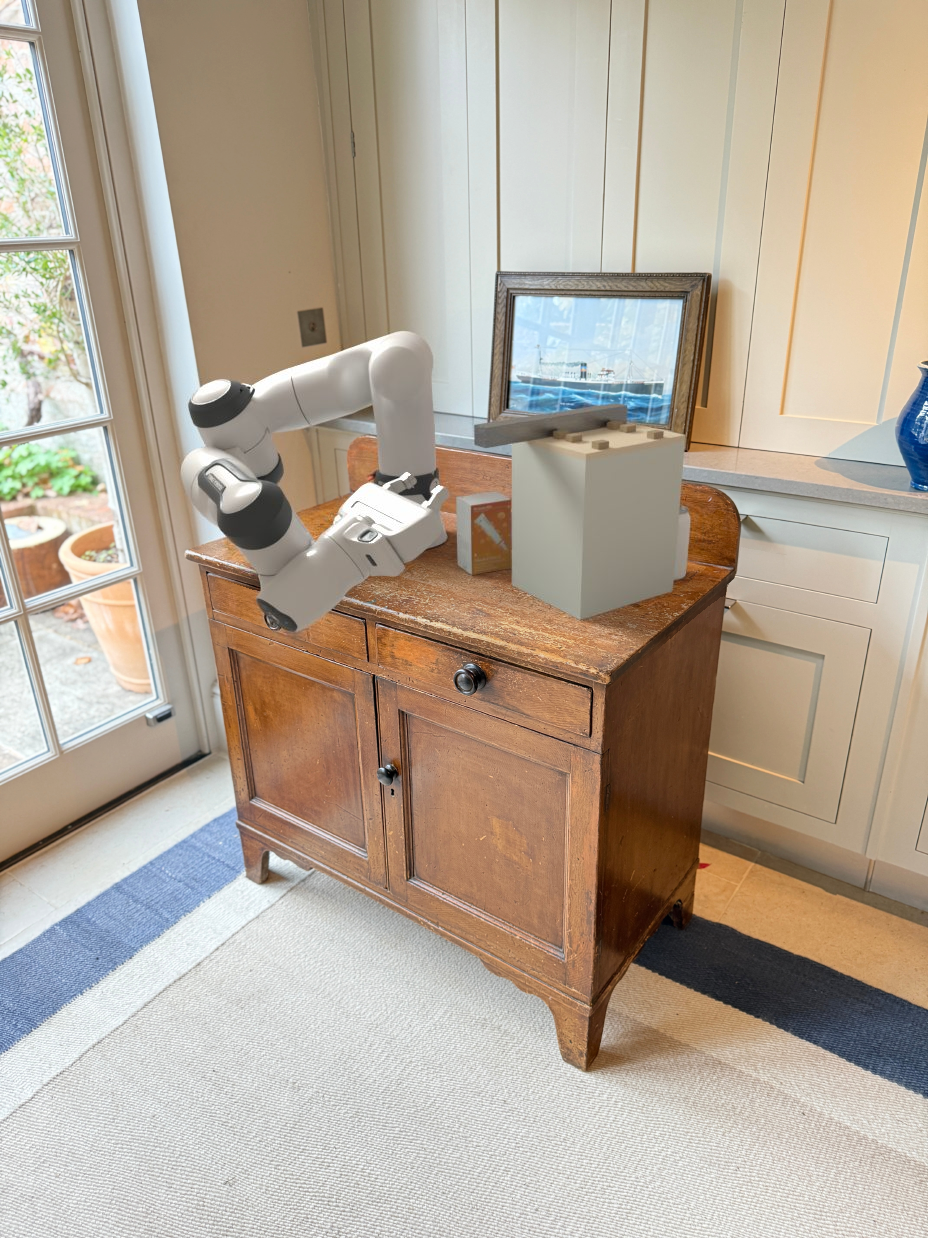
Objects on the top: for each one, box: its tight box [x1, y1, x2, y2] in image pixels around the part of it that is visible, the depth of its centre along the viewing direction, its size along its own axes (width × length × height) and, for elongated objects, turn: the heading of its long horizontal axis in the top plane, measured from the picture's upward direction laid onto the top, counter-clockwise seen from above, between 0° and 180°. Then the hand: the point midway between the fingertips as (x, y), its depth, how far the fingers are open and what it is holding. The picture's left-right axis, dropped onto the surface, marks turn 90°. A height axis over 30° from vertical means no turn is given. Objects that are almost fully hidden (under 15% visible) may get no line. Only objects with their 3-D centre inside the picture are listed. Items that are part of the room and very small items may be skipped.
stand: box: [511, 421, 686, 621], centre depth 137 cm, size 20×18×27 cm
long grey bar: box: [473, 402, 628, 449], centre depth 132 cm, size 28×3×3 cm, turn 123°
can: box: [673, 504, 692, 582], centre depth 145 cm, size 6×6×12 cm
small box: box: [455, 490, 512, 576], centre depth 151 cm, size 8×6×13 cm
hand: (428, 482), depth 123 cm, fingers open, 8 cm apart
